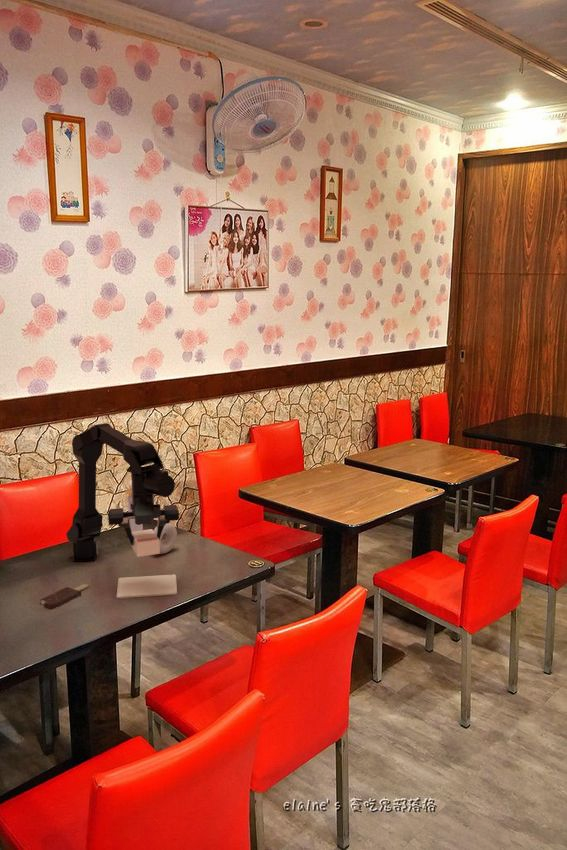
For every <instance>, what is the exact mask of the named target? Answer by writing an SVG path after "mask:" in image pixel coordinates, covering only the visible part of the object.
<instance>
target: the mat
mask: <svg viewBox="0 0 567 850" xmlns="http://www.w3.org/2000/svg"><path fill="white" fill-rule="evenodd" d="M176 575H177V574H163V575H162V574H159V575H147V576H146V575H145V576H129V577H118V581H117V591H116V599H126V598H138V597H140V598H141V597H154V596H169V595H177V594H178V589H177V588H178V587H177V576H176Z"/></svg>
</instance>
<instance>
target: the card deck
mask: <svg viewBox="0 0 567 850" xmlns="http://www.w3.org/2000/svg"><path fill="white" fill-rule="evenodd" d="M153 530H154V529H152V528H150V529H143V530H141V531H134V532H132V536H133V546H132V545H131V544H130V546H131V548H132V549H133V551H134V554H135V555H136V557H138V558H139V557H145V556H146V557H147V556H151V555H159V554H160V545H159V538H158V537H157V536H156V534H155V533H154V531H153Z"/></svg>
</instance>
